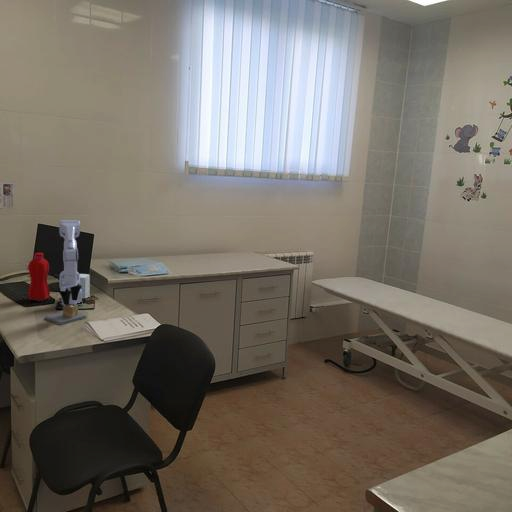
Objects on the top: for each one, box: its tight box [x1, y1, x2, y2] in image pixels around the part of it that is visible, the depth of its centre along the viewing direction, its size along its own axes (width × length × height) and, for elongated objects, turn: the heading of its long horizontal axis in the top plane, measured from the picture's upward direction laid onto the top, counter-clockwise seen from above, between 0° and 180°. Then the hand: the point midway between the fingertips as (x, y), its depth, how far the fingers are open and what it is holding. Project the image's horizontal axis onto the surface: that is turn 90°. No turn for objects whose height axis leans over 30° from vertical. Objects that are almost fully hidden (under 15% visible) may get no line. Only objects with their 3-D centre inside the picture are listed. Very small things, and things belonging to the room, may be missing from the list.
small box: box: [79, 273, 91, 298], centre depth 267 cm, size 8×6×13 cm
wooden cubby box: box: [62, 304, 79, 318], centre depth 236 cm, size 5×5×5 cm
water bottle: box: [26, 252, 51, 300], centre depth 260 cm, size 9×11×25 cm
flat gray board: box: [44, 311, 87, 325], centre depth 235 cm, size 14×12×1 cm
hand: (70, 302), depth 235 cm, fingers open, 7 cm apart
